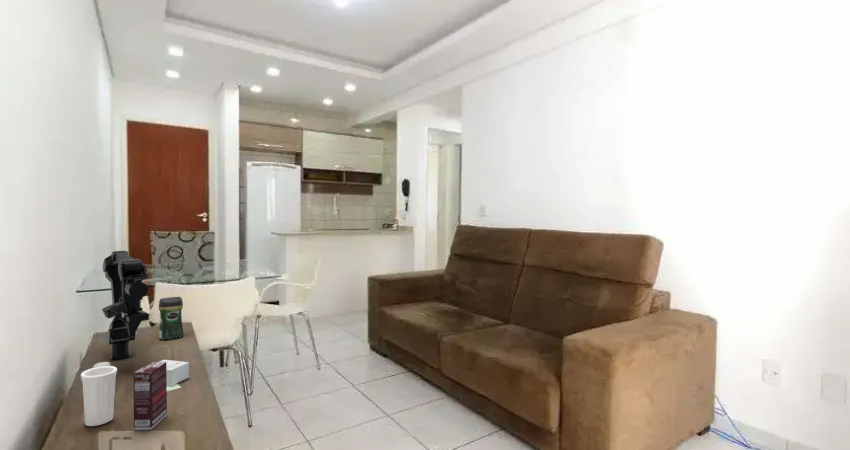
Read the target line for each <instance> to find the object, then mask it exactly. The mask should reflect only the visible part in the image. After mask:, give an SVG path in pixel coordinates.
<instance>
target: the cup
mask: <svg viewBox="0 0 850 450" xmlns="http://www.w3.org/2000/svg"><path fill="white" fill-rule="evenodd" d="M117 373H118V368H117V367H115V366H114V365H113V366H112V365H111V366H102V367H96V368H93V367H92V368H88V369H87V370H84V371H83V372H81V373H80V379H81V381H82V395H83V412H84V426H87V427H95V426H100V425H103V424H107V423H108V422H110V421H112V420H113V419H114V408H115V395H116V394H115V391H116V375H117Z"/></svg>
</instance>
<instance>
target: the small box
mask: <svg viewBox="0 0 850 450" xmlns="http://www.w3.org/2000/svg"><path fill="white" fill-rule="evenodd" d="M158 362H166V374H167V386H173V385H175V384H179V383H181V382H183V381H185V380H186V379H189V377H190V375H189V371H190V369H189V368H190V366H189V365H190V364H189V363H190V362H189V361H181V360H170V359H162V360H160V361H158Z"/></svg>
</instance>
